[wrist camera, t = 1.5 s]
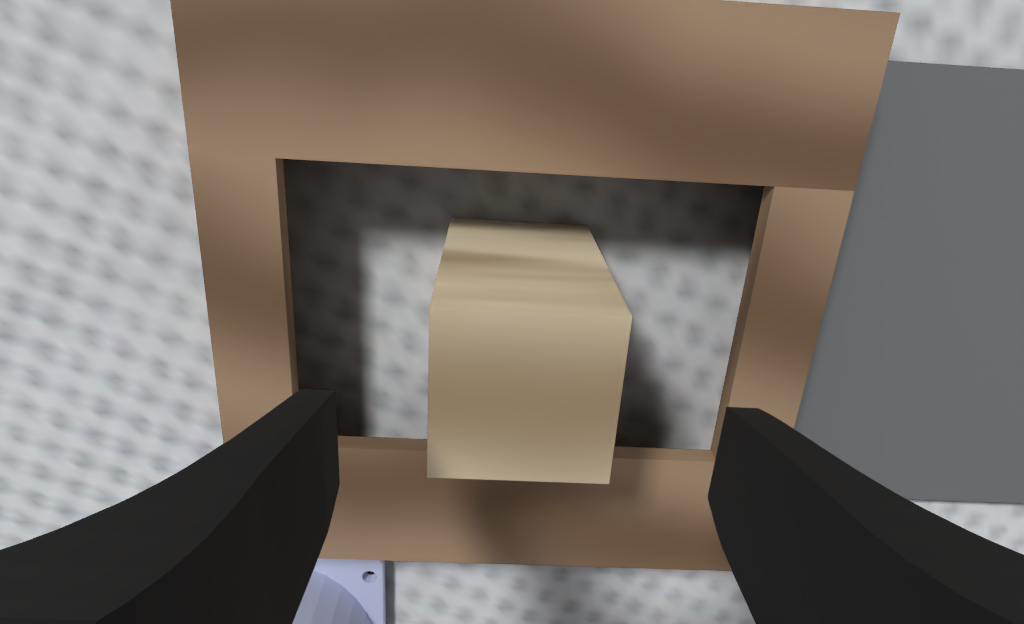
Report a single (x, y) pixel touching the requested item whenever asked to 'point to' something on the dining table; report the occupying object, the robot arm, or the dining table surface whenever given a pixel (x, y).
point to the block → (524, 354)
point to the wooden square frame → (533, 149)
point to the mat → (930, 293)
